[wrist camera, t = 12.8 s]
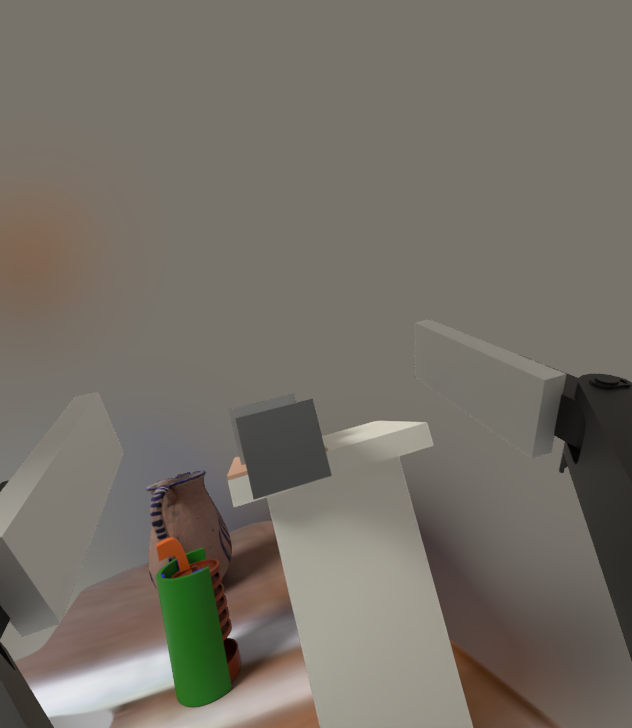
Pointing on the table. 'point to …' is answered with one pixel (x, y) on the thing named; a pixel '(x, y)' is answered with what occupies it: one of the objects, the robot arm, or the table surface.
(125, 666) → the table surface
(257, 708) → the table surface
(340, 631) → the stand
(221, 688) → the motor
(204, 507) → the ceramic pitcher
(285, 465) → the bar
